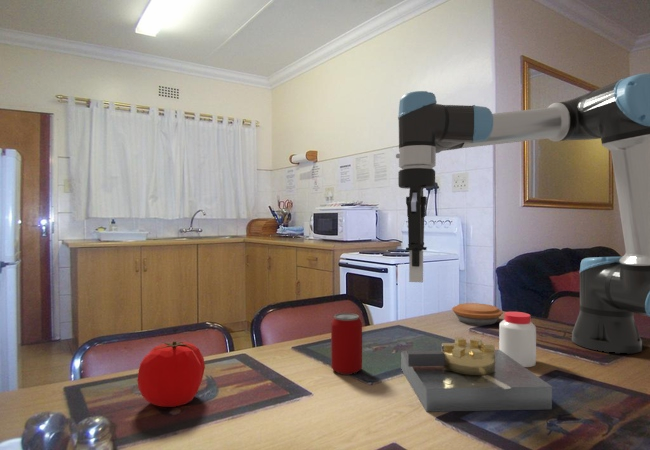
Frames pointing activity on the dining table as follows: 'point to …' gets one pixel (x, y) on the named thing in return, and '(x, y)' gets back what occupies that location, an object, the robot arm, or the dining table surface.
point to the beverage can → (346, 343)
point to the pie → (477, 313)
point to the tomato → (171, 374)
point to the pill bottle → (518, 338)
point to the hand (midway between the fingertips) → (416, 281)
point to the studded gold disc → (458, 357)
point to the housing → (479, 387)
